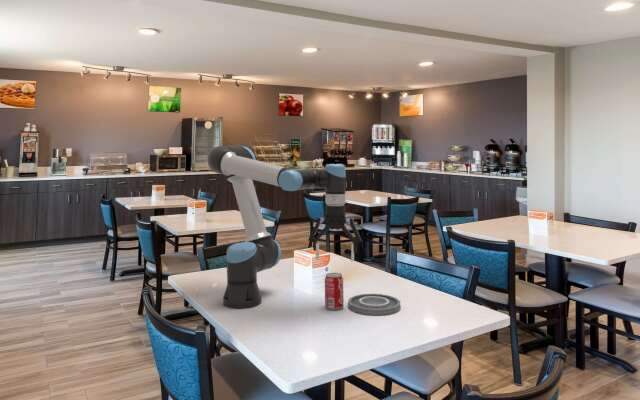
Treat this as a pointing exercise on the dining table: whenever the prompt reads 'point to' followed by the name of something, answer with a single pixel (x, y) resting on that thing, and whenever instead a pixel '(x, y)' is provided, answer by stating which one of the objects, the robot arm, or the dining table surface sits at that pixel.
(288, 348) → the dining table surface
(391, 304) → the tray
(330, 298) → the soda can
